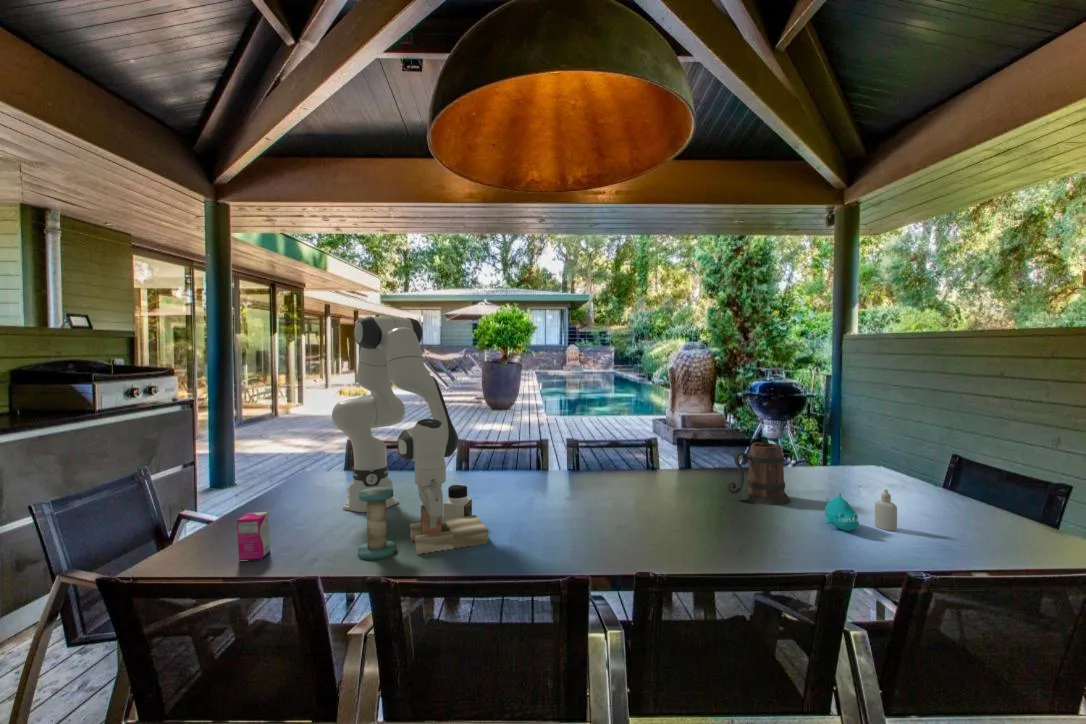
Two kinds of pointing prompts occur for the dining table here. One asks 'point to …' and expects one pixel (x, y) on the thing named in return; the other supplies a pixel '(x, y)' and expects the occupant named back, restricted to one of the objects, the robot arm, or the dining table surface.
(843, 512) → the toy shark
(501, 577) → the dining table surface
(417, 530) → the notched board
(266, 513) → the supplement box
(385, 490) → the bobbin
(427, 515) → the wooden block
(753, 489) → the tankard
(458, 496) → the medicine bottle
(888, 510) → the eye dropper bottle
